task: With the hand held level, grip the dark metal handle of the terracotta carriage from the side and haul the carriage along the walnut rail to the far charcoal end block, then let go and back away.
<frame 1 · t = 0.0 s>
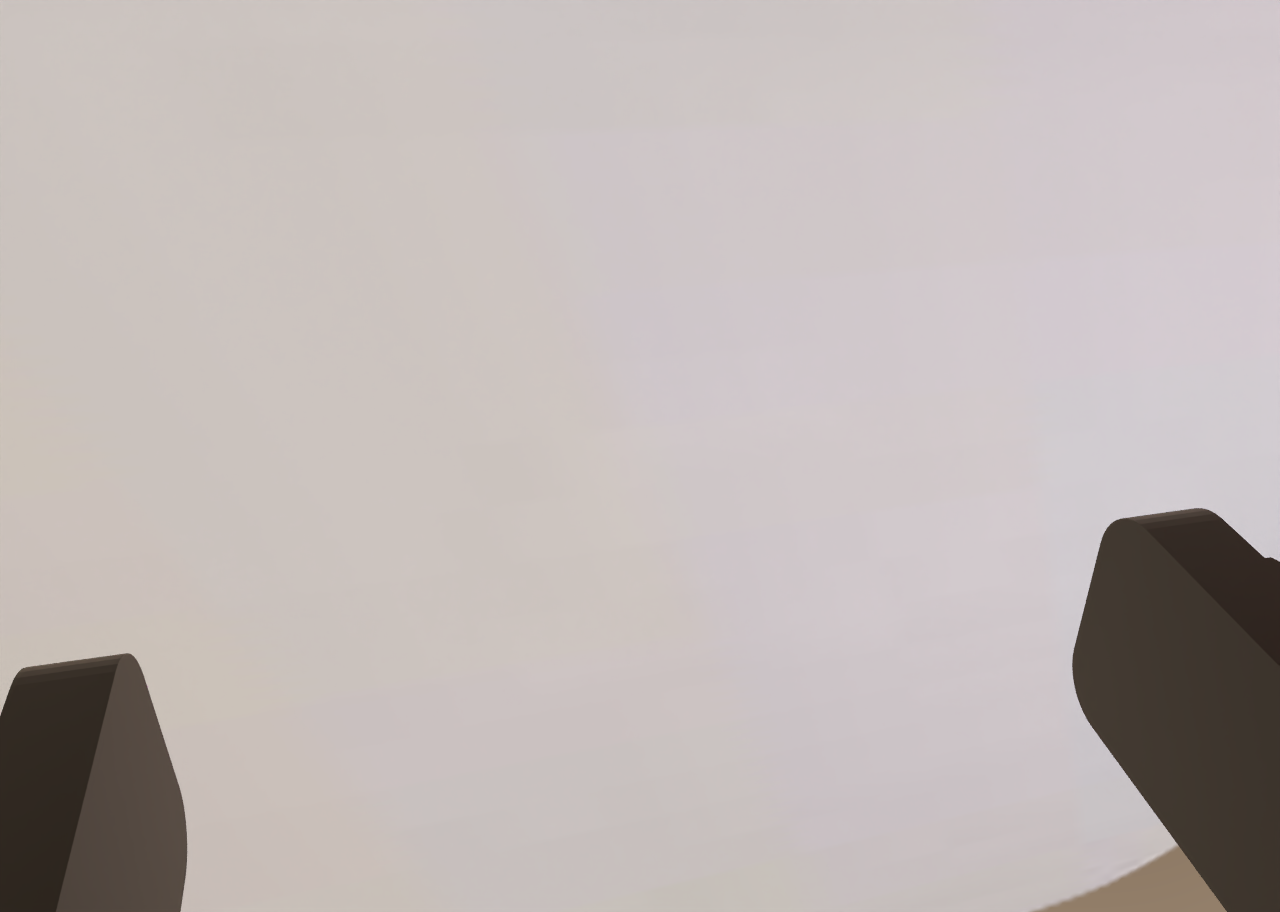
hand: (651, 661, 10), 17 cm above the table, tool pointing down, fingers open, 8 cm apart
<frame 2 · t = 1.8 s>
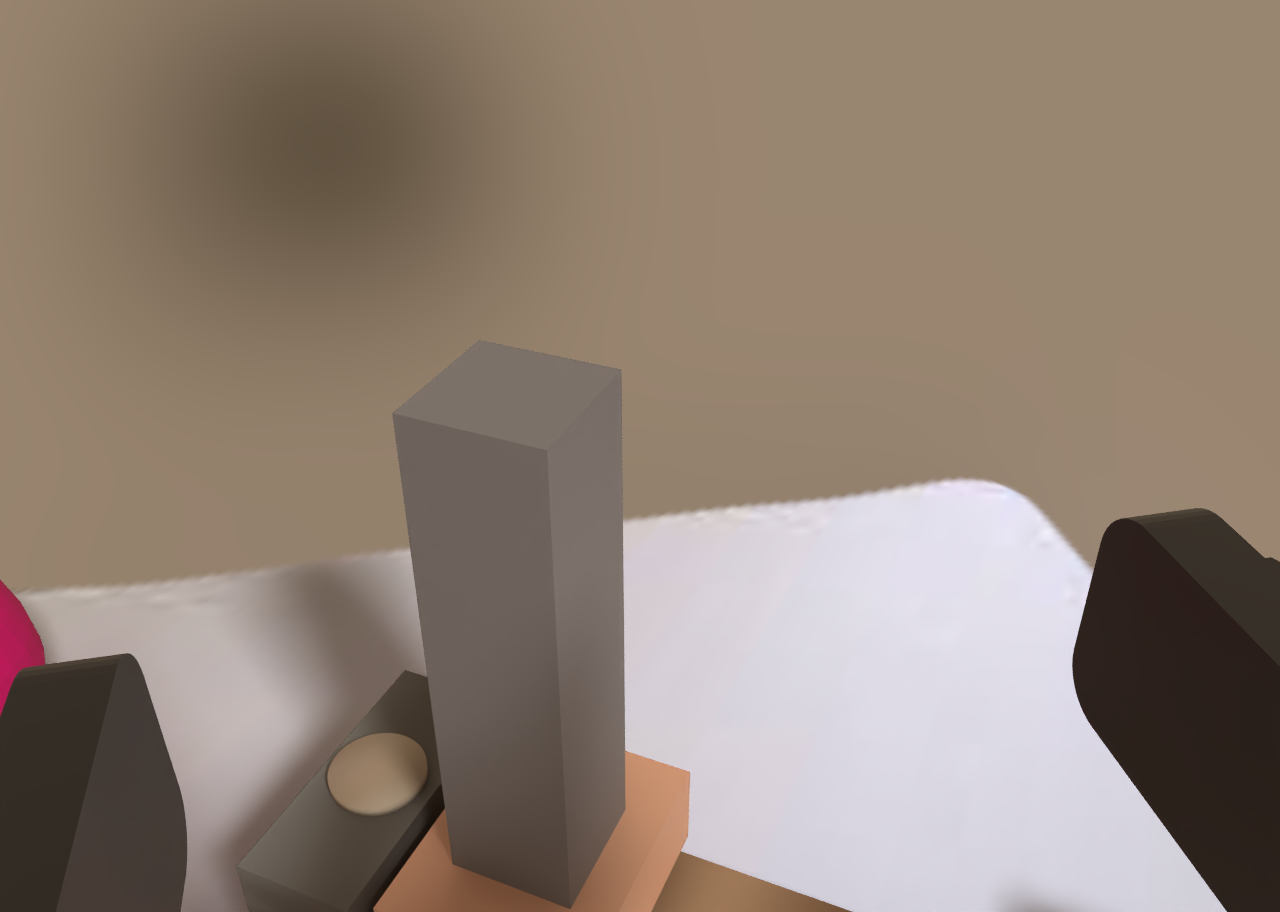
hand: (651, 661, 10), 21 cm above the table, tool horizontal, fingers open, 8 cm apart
carriage: (530, 686, 25), point 10 cm above the table, slide at 0.0 cm
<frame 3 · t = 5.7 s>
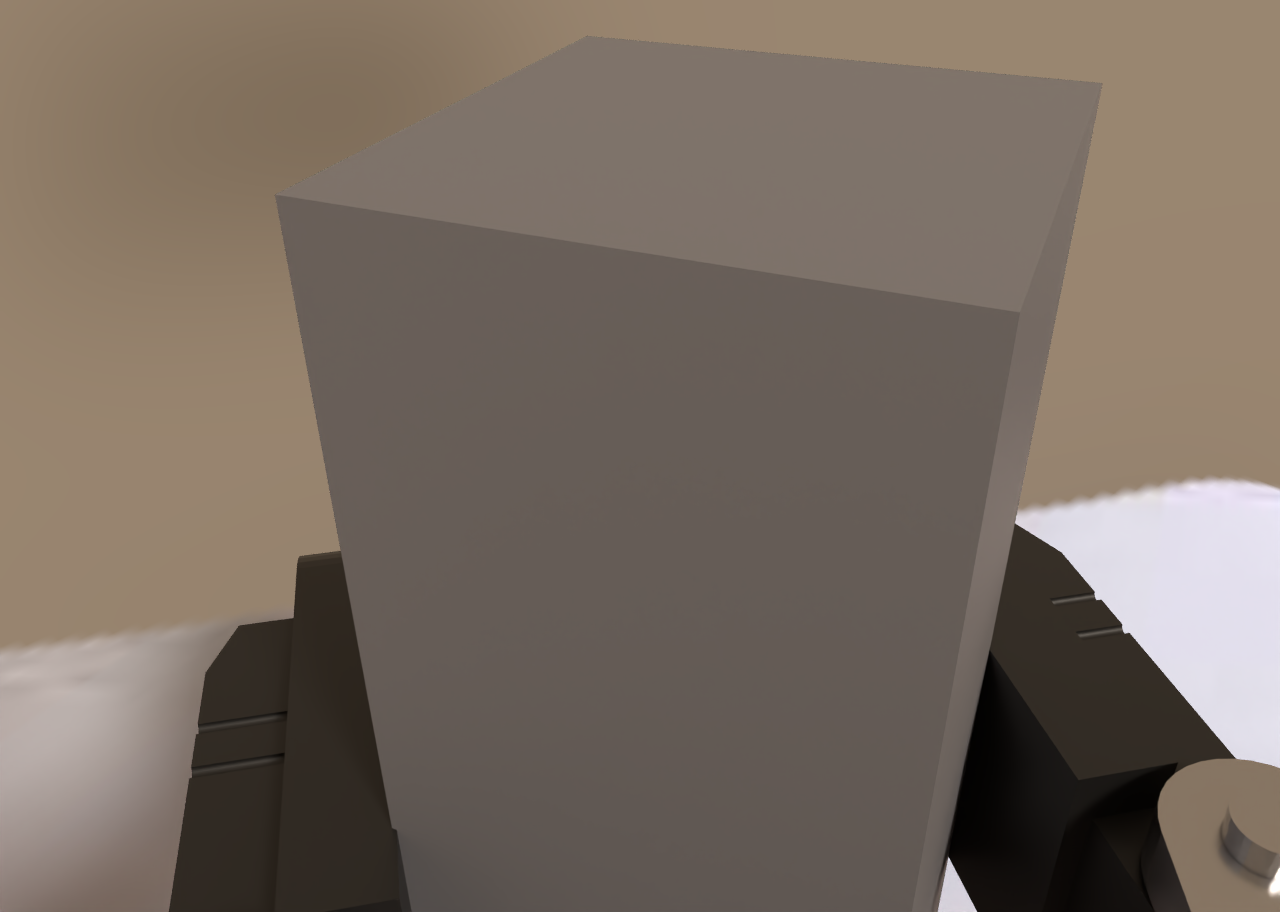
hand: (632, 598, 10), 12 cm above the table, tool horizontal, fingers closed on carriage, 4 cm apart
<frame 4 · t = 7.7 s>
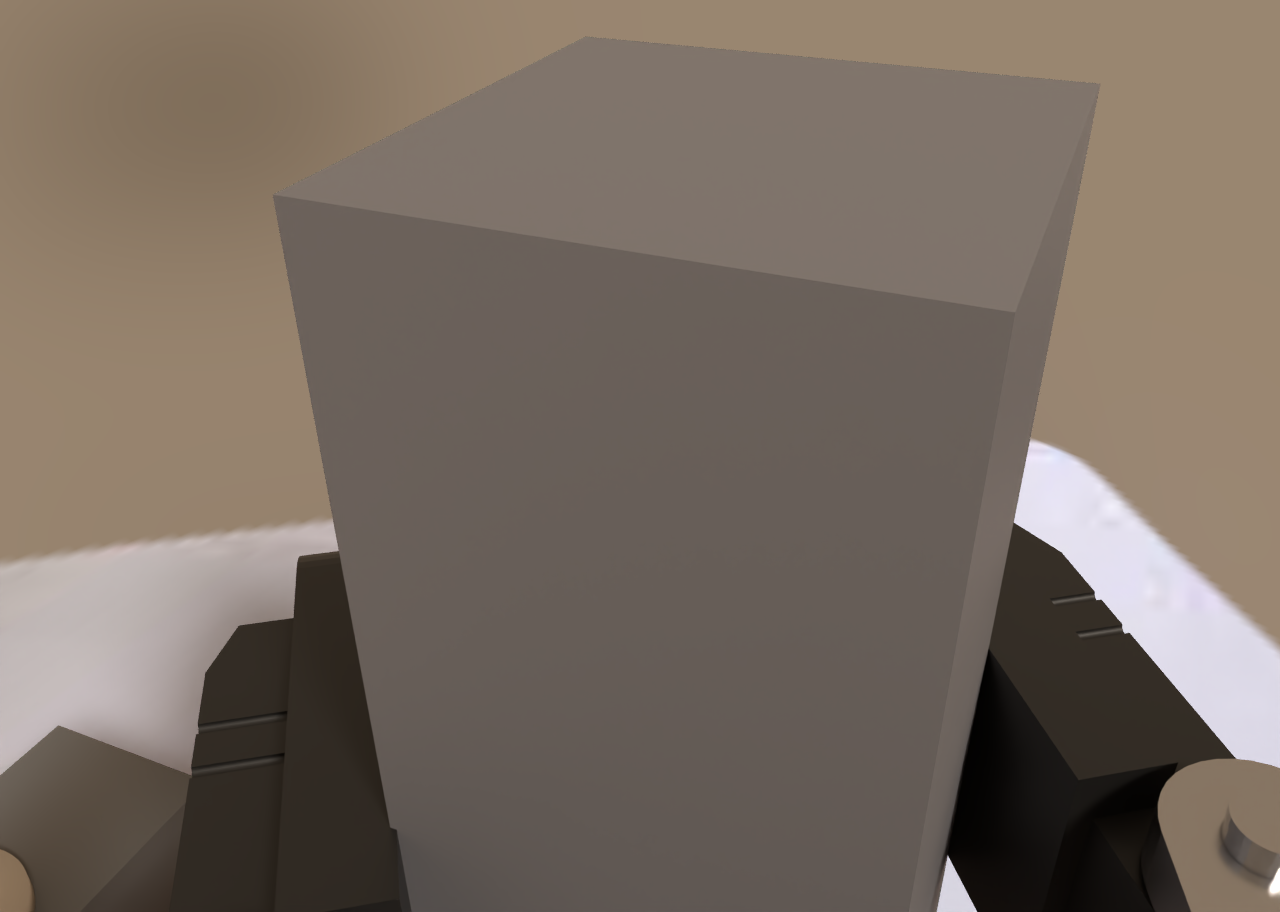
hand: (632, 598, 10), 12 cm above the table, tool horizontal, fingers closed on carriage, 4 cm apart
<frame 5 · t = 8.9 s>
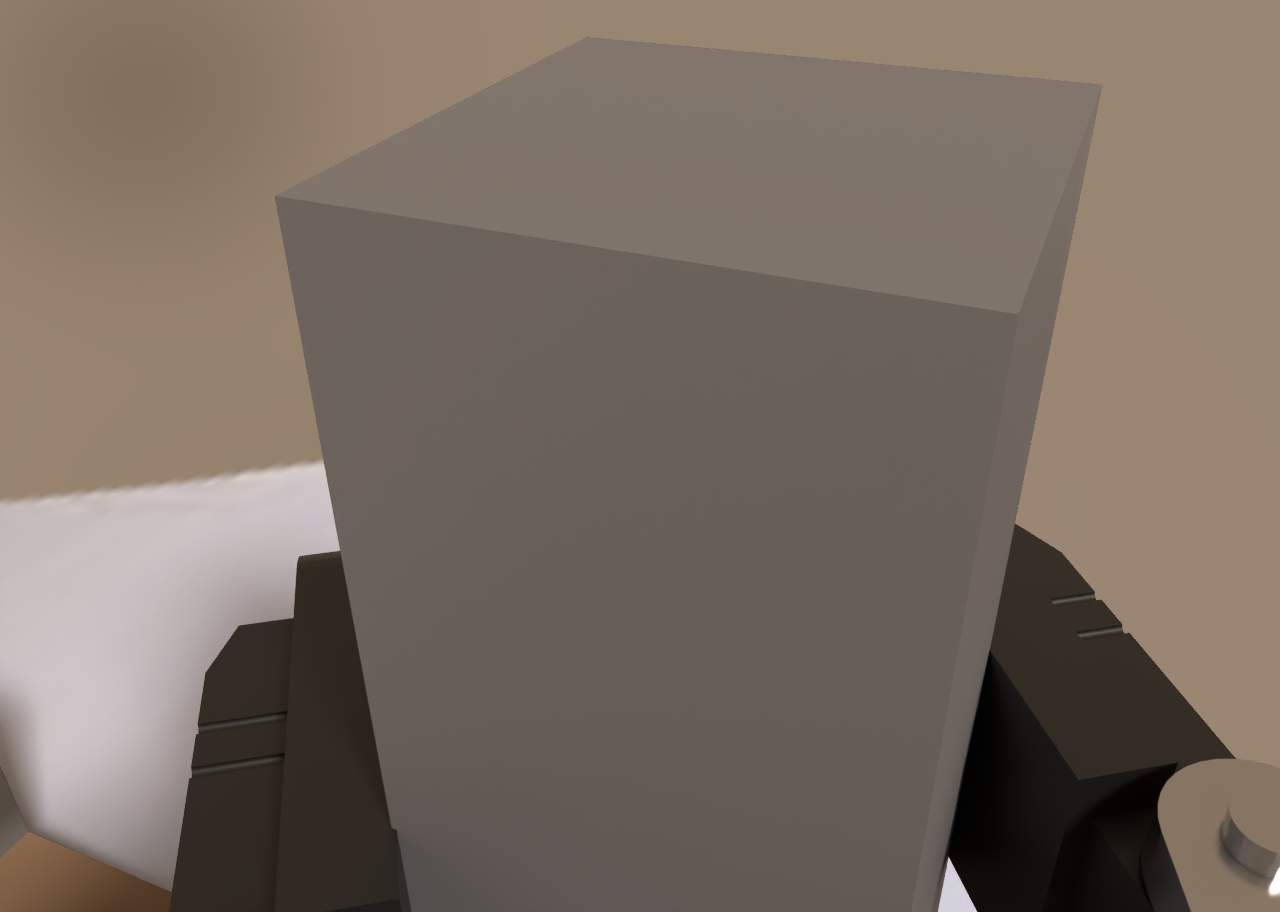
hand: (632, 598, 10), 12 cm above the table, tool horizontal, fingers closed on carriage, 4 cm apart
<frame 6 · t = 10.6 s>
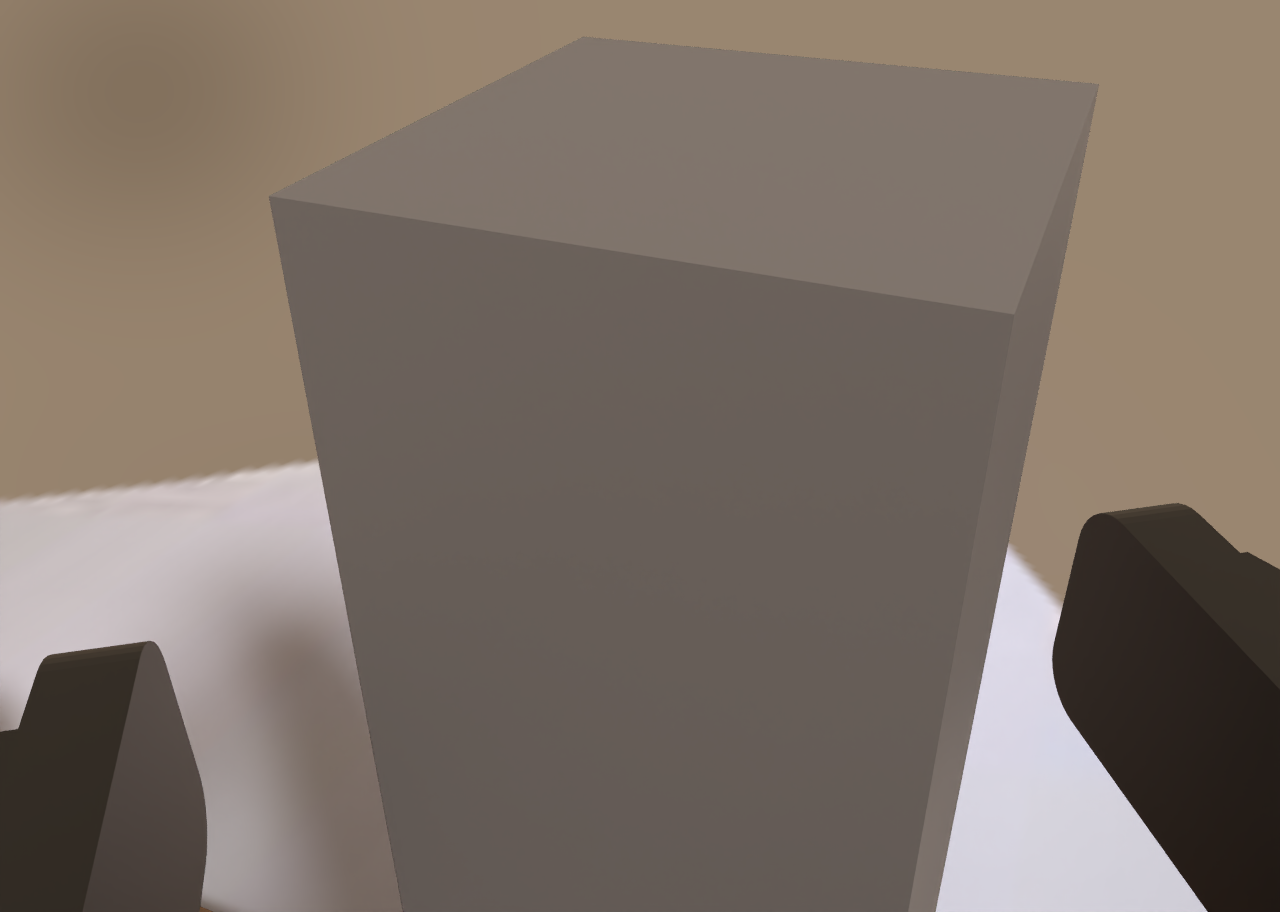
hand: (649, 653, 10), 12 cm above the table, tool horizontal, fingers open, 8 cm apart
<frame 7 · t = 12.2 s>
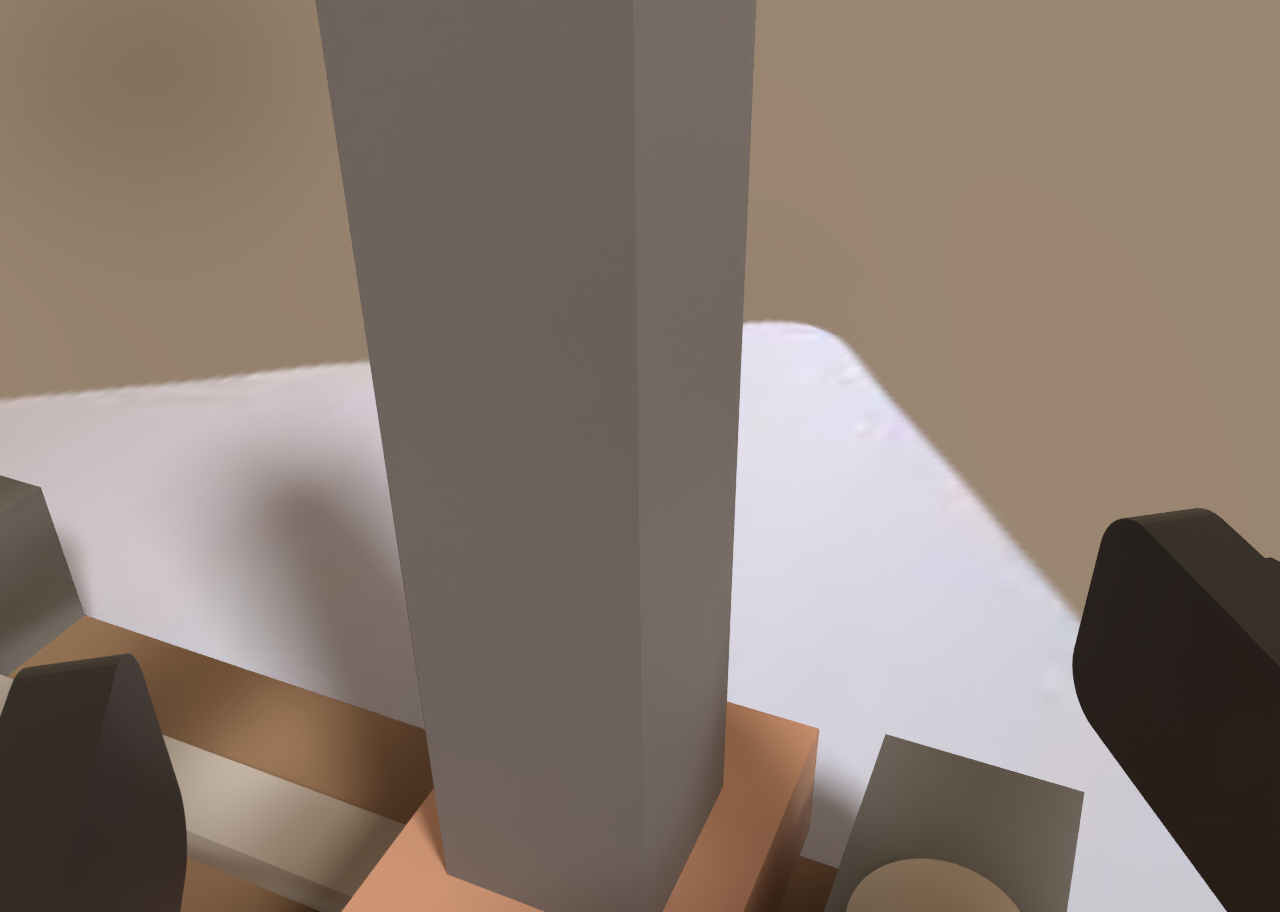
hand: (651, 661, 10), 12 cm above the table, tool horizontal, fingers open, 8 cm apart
carriage: (577, 566, 14), point 10 cm above the table, slide at 11.5 cm
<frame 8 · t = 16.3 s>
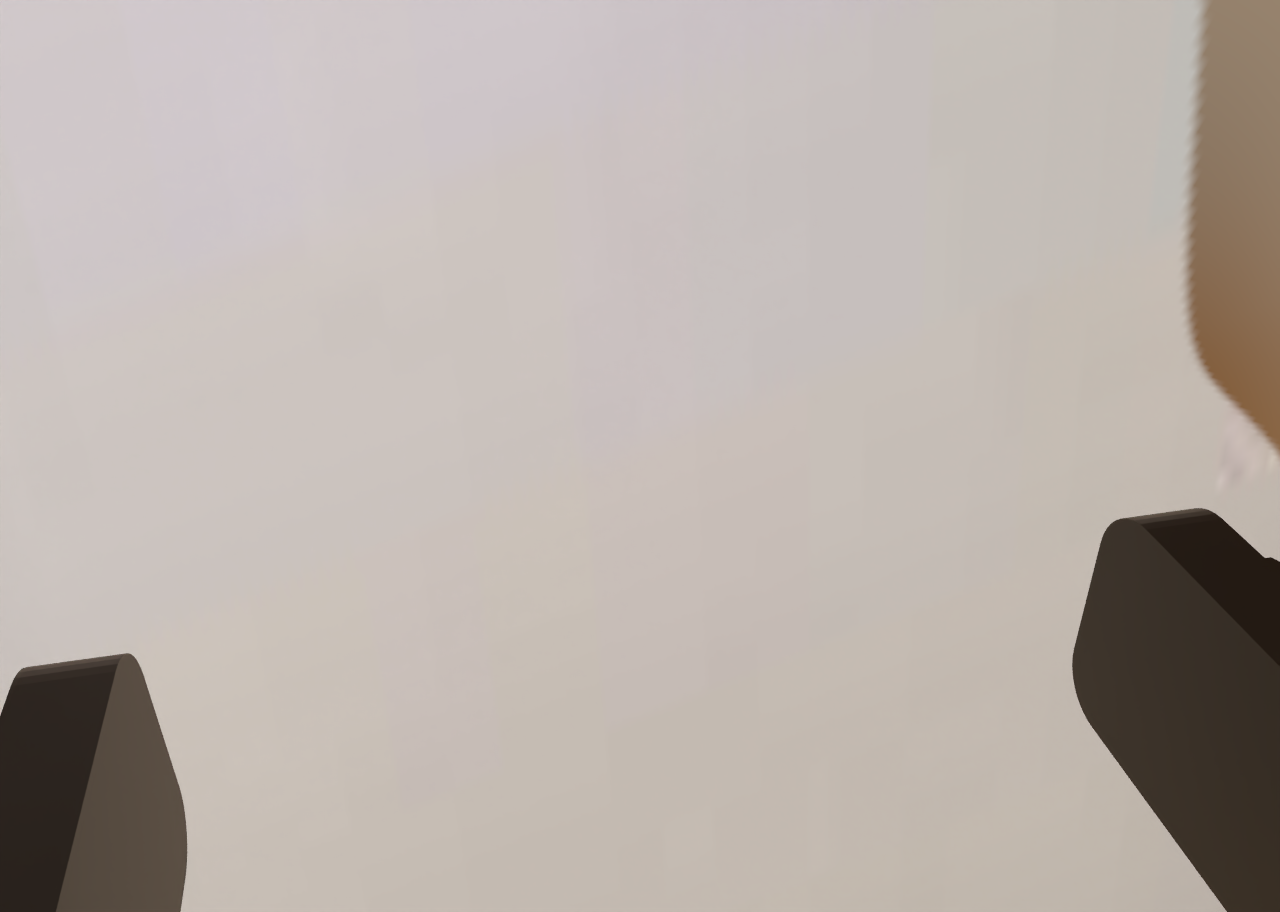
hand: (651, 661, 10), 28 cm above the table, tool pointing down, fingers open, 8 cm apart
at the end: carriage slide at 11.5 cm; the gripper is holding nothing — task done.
